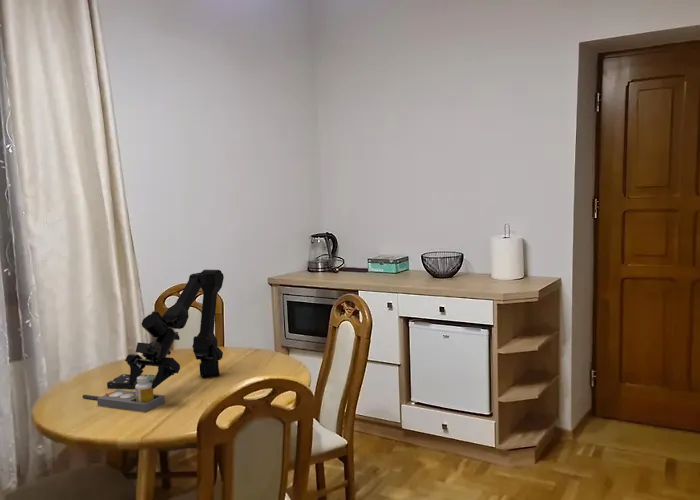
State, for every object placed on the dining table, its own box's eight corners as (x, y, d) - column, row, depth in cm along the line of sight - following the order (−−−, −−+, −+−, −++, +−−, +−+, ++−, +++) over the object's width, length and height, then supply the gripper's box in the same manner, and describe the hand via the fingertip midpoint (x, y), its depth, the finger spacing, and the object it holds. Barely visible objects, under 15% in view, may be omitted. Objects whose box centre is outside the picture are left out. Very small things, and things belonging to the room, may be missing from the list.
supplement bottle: (157, 404, 206) (155, 374, 205) (147, 409, 201) (145, 379, 200) (143, 402, 208) (141, 373, 207) (133, 408, 203) (130, 378, 202)
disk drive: (107, 390, 225) (145, 390, 222) (106, 382, 225) (144, 383, 222) (122, 381, 235) (159, 381, 232) (121, 374, 235) (158, 374, 232)
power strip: (164, 402, 207) (164, 393, 207) (145, 412, 199) (144, 402, 198) (93, 393, 220) (92, 384, 219) (72, 402, 212) (71, 393, 211)
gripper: (127, 330, 210) (104, 372, 201) (171, 333, 202) (150, 377, 193) (145, 347, 218) (124, 388, 209) (189, 351, 210) (169, 394, 201)
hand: (141, 386), depth 203 cm, fingers open, 9 cm apart
